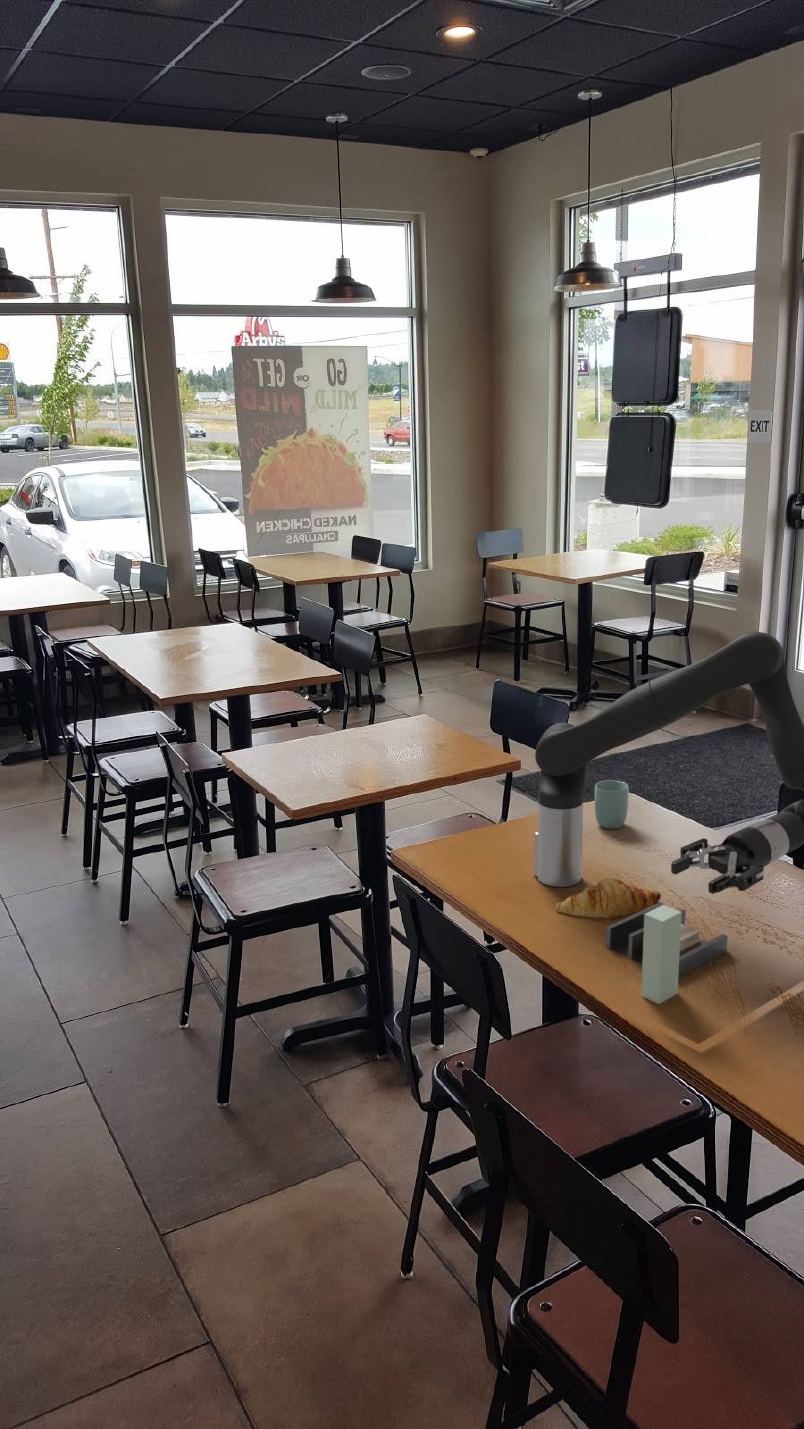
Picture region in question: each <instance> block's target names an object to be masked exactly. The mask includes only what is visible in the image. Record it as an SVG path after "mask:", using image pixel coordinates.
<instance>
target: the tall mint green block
mask: <svg viewBox="0 0 804 1429" xmlns="http://www.w3.org/2000/svg"><path fill="white" fill-rule="evenodd" d="M681 913H682V912H680V911H679V910H677V909H675V908H672V907H670V906H667V905H665V904H664V905H662V906H660V907H658V908H656V909H654V910H652V911H650V912H648V913H646V914H644V937H643V963H642V964H641V965H642V966H641V989H640V990H641V994H640V995H641V997H643V998H645V999H647V1000H649V1001H651V1002H654V1004H655V1003H656V1004H657V1005H660V1004H661V1003H664V1002H666V1001H667V1000H669V999H670V998H672V997H674V996H676V995H679V994H678V991H679V977H678V973H679V953H680V933H681Z"/></svg>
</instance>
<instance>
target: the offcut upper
mask: <svg viewBox="0 0 804 1429" xmlns="http://www.w3.org/2000/svg"><path fill="white" fill-rule="evenodd" d="M699 939H700V931H699V930H697V929H694V928H692V927H690V926H687V925H686V924H685V925H683V924H681V933H680V951H681V950H683V949H685V948H687V947H689V946H691V945H693V944H695V943H697V942H699Z"/></svg>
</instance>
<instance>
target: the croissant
mask: <svg viewBox="0 0 804 1429" xmlns="http://www.w3.org/2000/svg"><path fill="white" fill-rule="evenodd" d="M661 896H662V894H661V893H660V892H659V891H657V890H653V891H652V890H649V889H647V888H644V887H643V888H642V887H639V888H637V886H635V885H633V884H629V883H628V884H627V883H625V882H623V881H622V880H620V879H616V878H604V879H602V880H600V881H598V882H597V884H596V885H591V886H588V887H586V888H584V889H583V890H582V892H581V891H580V892H579V893H576V894H572V895H569V896H568V897H567V898H566V899H565V900H564V901H560V902H557V903H556V905H555V910H556V911H557V912H558V913H561V914H565V915H570V916H575V917H584V918H606V919H613V918H617V917H622V916H628V915H633V914H635V913H637V912H640V911H642V910H644V909H646V908H648V907H650V906H653V905H655V904H657V903H659V902H660V900H661Z"/></svg>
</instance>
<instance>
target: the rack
mask: <svg viewBox="0 0 804 1429" xmlns="http://www.w3.org/2000/svg"><path fill="white" fill-rule="evenodd" d="M662 905H665V904H664V903H662V902H660V901H658V902H657V903H656V904H655V905H653V906H650V907H648V908H646V909H644V910H641V911H638V912H634V913H632V914H630V915H629V916H627V917H625V918H623V919H621V920H617V921H616V922H614V923H612V924H610V925H607V926H606V928H605V929H606V930H605V933H606V934H605V948H607V949H609V950H611V951H614V952H615V953H617V954H619V955H622V956H623V957H625V958H628V959H630V960H632V961H635V962H637V964H641V965H642V963H643V937H644V914H646V913H648V912H650V911H652V910H654V909H656V908H658V907H660V906H662ZM678 911H680V912H682V913H681V924H683V925H685V926H686V916H687V915H686V913H687V912H686V910H685V909H680V910H678ZM699 940H700V941H701V945H700V946H698V947H697V948H695V949H693V950H691V951H689V952H687V953H685V954H683V955H681V956H679V973H678V978H679V977H681V976H684V975H685V974H687V973H689V972H690V971H692V970H694V969H697V968H699V966H702V965H704V964H705V963H707V962H709V961H711V960H713V959H715V958H717V957H718V956H720V955H722V954H724V953H726V952H727V950H728V935H726V934H724V933H722V934H720V935H717V936H716V937H714V938H712V939H710V940H708V941H705V940H702V939H700V938H699Z"/></svg>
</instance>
